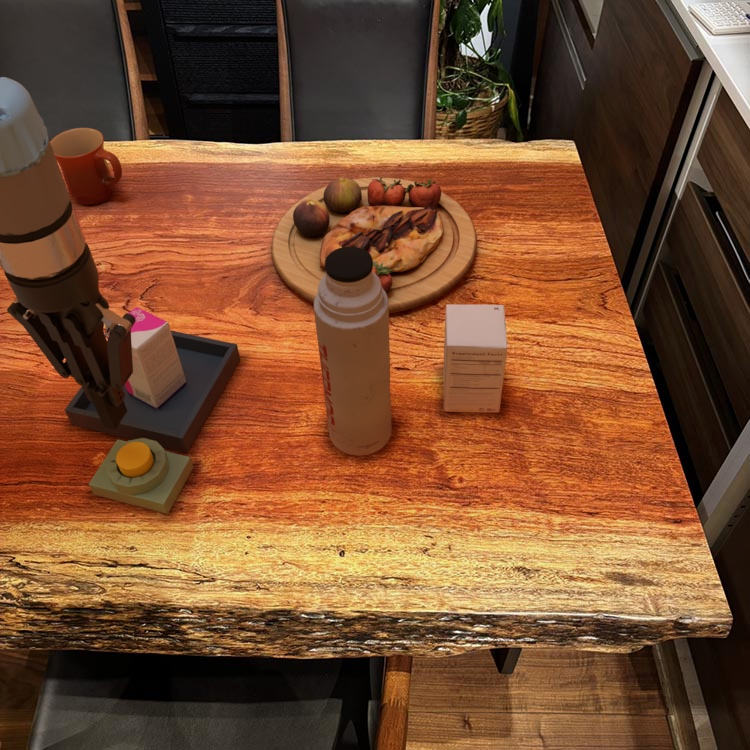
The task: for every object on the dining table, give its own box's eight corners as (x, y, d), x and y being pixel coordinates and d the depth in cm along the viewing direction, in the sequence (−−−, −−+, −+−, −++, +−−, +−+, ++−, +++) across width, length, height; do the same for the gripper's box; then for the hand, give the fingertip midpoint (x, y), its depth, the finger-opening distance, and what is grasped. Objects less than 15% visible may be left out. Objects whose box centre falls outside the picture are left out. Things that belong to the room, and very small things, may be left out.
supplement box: (188, 382, 107) (169, 321, 99) (157, 411, 104) (135, 351, 96) (157, 365, 110) (136, 304, 101) (126, 393, 106) (101, 333, 98)
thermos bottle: (329, 458, 99) (308, 289, 78) (327, 408, 104) (307, 238, 83) (394, 453, 99) (390, 284, 78) (389, 404, 104) (384, 232, 84)
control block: (93, 494, 97) (83, 475, 94) (122, 449, 101) (113, 429, 98) (168, 514, 94) (160, 495, 91) (193, 467, 99) (187, 447, 96)
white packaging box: (442, 370, 108) (445, 301, 99) (497, 371, 108) (506, 303, 98) (441, 413, 103) (445, 345, 94) (499, 414, 103) (509, 346, 93)
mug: (57, 203, 136) (36, 150, 129) (90, 175, 142) (71, 123, 134) (114, 219, 133) (96, 166, 125) (146, 190, 138) (130, 137, 130)
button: (113, 473, 94) (109, 464, 93) (130, 447, 97) (126, 438, 95) (143, 481, 93) (140, 472, 92) (159, 454, 96) (156, 445, 95)
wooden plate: (452, 336, 112) (454, 292, 106) (241, 299, 119) (231, 255, 113) (493, 202, 133) (497, 158, 126) (310, 176, 139) (306, 134, 133)
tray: (71, 425, 104) (64, 410, 102) (133, 336, 114) (128, 321, 112) (187, 453, 100) (182, 438, 98) (240, 359, 111) (237, 343, 108)
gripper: (130, 241, 72) (183, 405, 90) (6, 217, 75) (81, 381, 93) (87, 295, 68) (152, 458, 85) (-43, 268, 71) (46, 431, 88)
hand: (115, 418), depth 89 cm, fingers closed
